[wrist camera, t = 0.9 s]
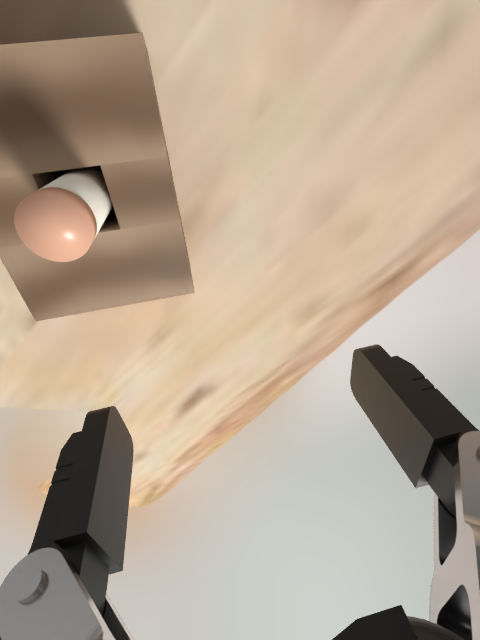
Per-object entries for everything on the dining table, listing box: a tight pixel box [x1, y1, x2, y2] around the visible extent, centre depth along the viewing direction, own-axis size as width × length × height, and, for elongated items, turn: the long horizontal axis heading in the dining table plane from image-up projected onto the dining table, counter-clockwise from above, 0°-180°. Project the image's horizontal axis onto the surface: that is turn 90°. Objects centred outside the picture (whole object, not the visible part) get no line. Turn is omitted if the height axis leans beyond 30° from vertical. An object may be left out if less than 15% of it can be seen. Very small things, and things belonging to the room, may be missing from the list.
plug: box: [14, 165, 113, 262], centre depth 23 cm, size 4×4×13 cm
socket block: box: [0, 33, 194, 321], centre depth 26 cm, size 18×14×7 cm
